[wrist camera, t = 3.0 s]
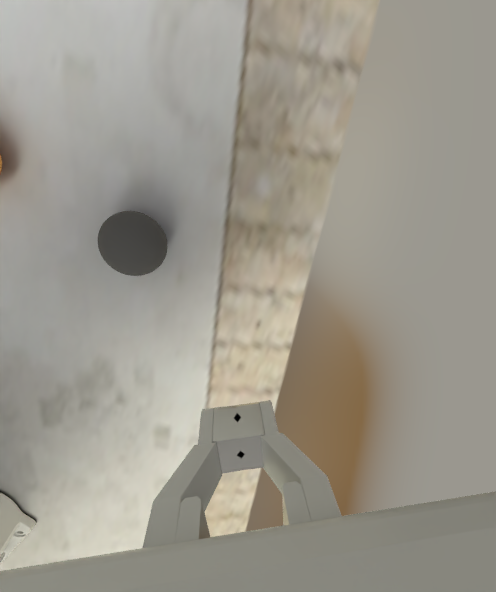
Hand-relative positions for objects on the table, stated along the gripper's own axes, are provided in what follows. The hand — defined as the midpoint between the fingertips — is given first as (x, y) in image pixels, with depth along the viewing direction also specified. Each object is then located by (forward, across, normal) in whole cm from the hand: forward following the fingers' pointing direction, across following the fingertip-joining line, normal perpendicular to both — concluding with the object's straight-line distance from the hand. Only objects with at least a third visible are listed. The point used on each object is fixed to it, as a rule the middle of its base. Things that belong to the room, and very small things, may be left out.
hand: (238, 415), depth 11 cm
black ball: (+15, +8, -5) cm, 18 cm away
